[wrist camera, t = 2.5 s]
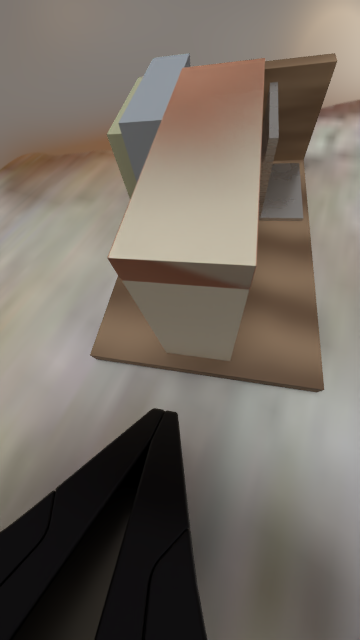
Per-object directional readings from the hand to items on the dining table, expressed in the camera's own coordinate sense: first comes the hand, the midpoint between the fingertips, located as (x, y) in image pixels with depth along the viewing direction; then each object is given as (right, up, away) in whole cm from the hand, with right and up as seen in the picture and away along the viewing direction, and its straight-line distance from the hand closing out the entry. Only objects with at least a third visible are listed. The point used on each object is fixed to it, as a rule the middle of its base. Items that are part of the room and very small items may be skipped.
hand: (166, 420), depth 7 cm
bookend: (+10, +16, +14) cm, 24 cm away
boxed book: (+3, +7, +11) cm, 13 cm away
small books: (-1, +16, +17) cm, 23 cm away
